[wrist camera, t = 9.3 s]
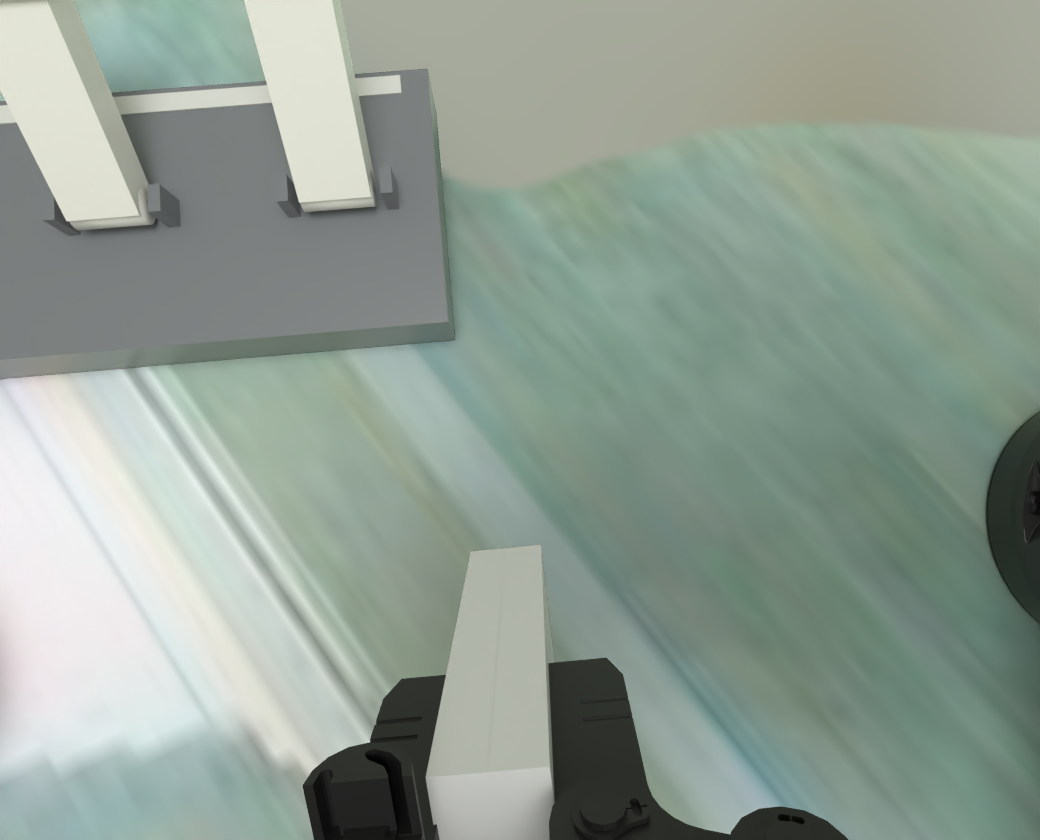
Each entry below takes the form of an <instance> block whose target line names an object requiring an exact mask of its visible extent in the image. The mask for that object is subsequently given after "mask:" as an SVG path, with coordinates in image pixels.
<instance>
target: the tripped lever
mask: <svg viewBox="0 0 1040 840" xmlns="http://www.w3.org/2000/svg"><path fill="white" fill-rule="evenodd" d="M244 1H245V5H246V9H247V13H248V16H249V20H250V24H251V27H252V31H253V35H254V38H255V42H256V46H257V49H258V53H259V57H260V60H261V64H262V68H263V72H264V75H265V79H266V83H267V86H268V90H269V94H270V97H271V101H272V105H273V108H274V112H275V116H276V119H277V123H278V127H279V130H280V134H281V138H282V142H283V145H284V149H285V153H286V156H287V160H288V164H289V167H290V171H291V175H292V178H293V182H294V186H295V189H296V193H297V197H298V201H299V203H300V204H301V206H302V209H303V210H304V212H314V211H326V210H338V209H351V208H363V207H375V206H376V204H377V197H376V187H375V178H374V173H373V168H372V163H371V157H370V152H369V147H368V142H367V137H366V131H365V126H364V121H363V116H362V111H361V105H360V100H359V95H358V90H357V85H356V79H355V74H354V70H353V64H352V59H351V53H350V48H349V43H348V38H347V33H346V28H345V22H344V17H343V12H342V7H341V2H340V0H244Z"/></svg>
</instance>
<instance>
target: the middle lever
mask: <svg viewBox="0 0 1040 840" xmlns="http://www.w3.org/2000/svg"><path fill="white" fill-rule="evenodd" d="M0 91H1V93H2V95H3V97H4V99H5V101H6V103H7V105H8V107H9V109H10V111H11V113H12V115H13V116H14V118H15V120H16V122H17V124H18V126H19V128H20V130H21V132H22V134H23V136H24V138H25V140H26V142H27V144H28V146H29V148H30V150H31V152H32V154H33V156H34V158H35V160H36V162H37V164H38V166H39V168H40V170H41V172H42V174H43V176H44V178H45V180H46V182H47V184H48V186H49V188H50V190H51V192H52V194H53V196H54V198H55V200H56V202H57V204H58V206H59V207H60V209H61V211H62V213H63V215H64V217H65V219H66V221H69V222H70V224H71V225H72V226H73V227H74V228H75V229H77V230H92V229H104V228H116V227H129V226H141V225H152V224H154V222H155V220H156V217H154V216H153V215H152V214H151V213H149V212H148V191H147V185H149V184H148V181H147V179H146V177H145V174H144V172H143V169H142V167H141V164H140V162H139V159H138V157H137V155H136V152H135V150H134V147H133V145H132V142H131V140H130V137H129V135H128V133H127V130H126V128H125V125H124V123H123V120H122V118H121V115H120V113H119V111H118V108H117V106H116V103H115V101H114V98H113V96H112V93H111V91H110V89H109V86H108V84H107V81H106V79H105V76H104V74H103V71H102V69H101V67H100V64H99V62H98V59H97V57H96V54H95V52H94V49H93V47H92V45H91V42H90V40H89V37H88V35H87V32H86V30H85V27H84V25H83V23H82V20H81V18H80V15H79V13H78V10H77V8H76V5H75V3H74V1H73V0H0Z"/></svg>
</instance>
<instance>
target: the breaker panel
mask: <svg viewBox="0 0 1040 840" xmlns="http://www.w3.org/2000/svg"><path fill="white" fill-rule="evenodd" d="M355 79H356V85H357V90H358V95H359V100H360V105H361V111H362V116H363V121H364V126H365V131H366V137H367V142H368V147H369V152H370V157H371V163H372V168H373V173H374V178H375V187H376V197H377V204H376V206H375V207H363V208H351V209H338V210H326V211H314V212H304V210H303V209H302V206H301V204H300V203H299V201H298V197H297V193H296V189H295V186H294V182H293V178H292V175H291V171H290V167H289V164H288V160H287V156H286V153H285V149H284V145H283V142H282V138H281V134H280V130H279V127H278V123H277V119H276V116H275V112H274V108H273V105H272V101H271V97H270V94H269V90H268V86H267V83H266V81H261V82H247V83H234V84H221V85H208V86H195V87H182V88H169V89H156V90H143V91H130V92H117V93H112V96H113V98H114V101H115V103H116V106H117V108H118V111H119V113H120V115H121V118H122V120H123V123H124V125H125V128H126V130H127V133H128V135H129V137H130V140H131V142H132V145H133V147H134V150H135V152H136V155H137V157H138V159H139V162H140V164H141V167H142V169H143V172H144V174H145V177H146V179H147V181H148V184H149V185H147V191H148V212H149V213H151V214H152V215H153V216H154V217H156V220H155V222H154V224H152V225H141V226H129V227H116V228H104V229H92V230H77V229H75V228H74V227H73V226H72V225H71V224H70V222H69V221H66V219H65V217H64V215H63V213H62V211H61V209H60V207H59V206H58V204H57V202H56V200H55V198H54V196H53V194H52V192H51V190H50V188H49V186H48V184H47V182H46V180H45V178H44V176H43V174H42V172H41V170H40V168H39V166H38V164H37V162H36V160H35V158H34V156H33V154H32V152H31V150H30V148H29V146H28V144H27V142H26V140H25V138H24V136H23V134H22V132H21V130H20V128H19V126H18V124H17V122H16V120H15V118H14V116H13V115H12V113H11V111H10V109H9V107H8V105H7V103H6V101H0V379H6V378H18V377H29V376H41V375H53V374H64V373H76V372H88V371H99V370H111V369H123V368H135V367H146V366H158V365H170V364H181V363H193V362H205V361H216V360H228V359H240V358H251V357H263V356H275V355H286V354H298V353H310V352H321V351H333V350H345V349H357V348H368V347H380V346H392V345H403V344H415V343H427V342H438V341H450V340H455V333H454V321H453V309H452V297H451V285H450V272H449V260H448V248H447V236H446V224H445V212H444V200H443V188H442V176H441V163H440V152H439V139H438V128H437V115H436V109H435V104H434V99H433V94H432V89H431V84H430V79H429V73H428V69H417V70H404V71H391V72H378V73H365V74H355Z"/></svg>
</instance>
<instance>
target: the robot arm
mask: <svg viewBox="0 0 1040 840" xmlns="http://www.w3.org/2000/svg"><path fill="white" fill-rule="evenodd" d="M988 526H989V534H990V539H991V544H992V548H993V552H994V555H995V558H996V561H997V564H998V566H999V569H1000V571H1001V573H1002V575H1003V577H1004V579H1005V581H1006V583H1007V584H1008V586H1009V588H1010V590H1011V591H1012V593H1013V594H1014V595H1015V597H1016V598H1017V600H1018V601H1019V602H1020V603H1021V605H1022V606H1023V607H1024V608H1025V609H1026V610H1027V611H1028V612H1029V613H1030V615H1032V616H1033V617H1034V618H1035V619H1036V620H1037V621H1038V622H1039V623H1040V413H1038V414H1037V415H1035V416H1034V417H1033V418H1032V419H1030V420H1029V421H1028V422H1027V423H1026V424H1025V425H1024V426H1023V427H1022V428H1021V429H1020V430H1019V431H1018V432H1017V433H1016V434H1015V436H1014V437H1013V438H1012V440H1011V441H1010V442H1009V444H1008V445H1007V447H1006V449H1005V450H1004V452H1003V454H1002V456H1001V458H1000V460H999V462H998V465H997V467H996V470H995V473H994V475H993V479H992V483H991V488H990V493H989V501H988ZM376 722H377V723H376V725H375V726H374V729H373V732H372V735H371V738H370V743H366V744H361V745H357V746H352V747H349V748H346V749H344V750H342V751H340V752H338V753H336V754H334V755H332V756H330V757H328V758H327V759H326V760H325V761H323V762H322V763H321V764H320V765H319V766H317V767H316V768H315V769H314V770H313V771H312V772H311V774H310V775H309V777H308V778H307V780H306V781H305V783H304V784H303V790H304V794H305V799H306V804H307V808H308V813H309V818H310V822H311V827H312V832H313V836H314V840H848V839H847V838H846V837H845V836H844V835H843V834H842V833H840V832H839V831H838V830H837V829H836V828H835V827H833V826H832V825H831V824H830V823H829V822H828V821H826V820H824V819H821V818H819V817H817V816H815V815H813V814H811V813H808V812H806V811H804V810H798V809H792V808H787V807H781V806H780V807H772V808H763V809H758V810H756V811H754V812H752V813H750V814H748V815H746V816H744V817H742V818H741V819H740V821H739V822H738V824H737V825H736V826H735V828H734V829H733V830H732V832H731V835H730V834H724V833H719V832H714V831H709V830H704V829H701V828H697V827H694V826H690V825H687V824H685V823H683V822H681V821H679V820H677V819H675V818H674V817H672V816H671V815H670V814H668V813H667V812H666V811H665V810H663V809H662V808H661V807H660V806H659V805H658V803H657V802H656V801H655V799H654V798H653V797H652V795H651V792H650V790H649V787H648V785H647V780H646V776H645V771H644V767H643V762H642V758H641V753H640V749H639V744H638V740H637V735H636V731H635V726H634V722H633V718H632V713H631V709H630V704H629V700H628V695H627V691H626V686H625V682H624V677H623V674H622V673H621V672H620V671H619V670H618V669H617V668H616V667H615V666H614V665H613V664H612V663H611V662H610V661H609V660H608V659H607V658H599V659H589V660H578V661H567V662H556V663H554V655H553V646H552V637H551V628H550V620H549V611H548V602H547V593H546V584H545V575H544V567H543V558H542V549H541V545H531V546H521V547H511V548H501V549H491V550H481V551H471V553H470V558H469V563H468V568H467V573H466V578H465V583H464V588H463V593H462V598H461V603H460V608H459V613H458V618H457V623H456V628H455V633H454V638H453V643H452V648H451V653H450V658H449V663H448V668H447V673H446V675H440V676H429V677H418V678H407V679H401V680H400V681H399V683H398V684H397V685H396V686H395V687H394V688H393V689H392V690H391V691H390V692H389V693H388V695H387V696H386V697H385V698H384V699H383V702H382V705H381V708H380V711H379V714H378V717H377V720H376Z"/></svg>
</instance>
